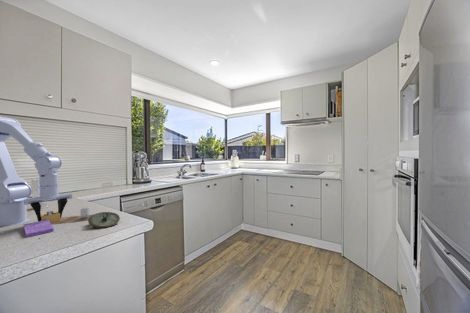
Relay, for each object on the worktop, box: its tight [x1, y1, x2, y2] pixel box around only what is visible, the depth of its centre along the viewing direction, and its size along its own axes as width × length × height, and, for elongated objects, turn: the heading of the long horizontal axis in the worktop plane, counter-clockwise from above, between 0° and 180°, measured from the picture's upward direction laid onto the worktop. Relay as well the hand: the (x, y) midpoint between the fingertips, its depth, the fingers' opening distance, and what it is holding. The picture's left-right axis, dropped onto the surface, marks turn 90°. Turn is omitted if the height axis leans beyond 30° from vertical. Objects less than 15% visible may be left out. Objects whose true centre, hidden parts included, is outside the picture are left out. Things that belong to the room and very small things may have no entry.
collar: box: [41, 211, 60, 223], centre depth 85 cm, size 6×6×3 cm
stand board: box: [45, 207, 95, 226], centre depth 88 cm, size 19×10×5 cm, turn 110°
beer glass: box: [30, 178, 49, 210], centre depth 112 cm, size 7×7×15 cm
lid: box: [87, 211, 121, 229], centre depth 82 cm, size 11×10×5 cm
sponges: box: [23, 219, 55, 238], centre depth 75 cm, size 7×13×2 cm, turn 48°
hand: (49, 219), depth 85 cm, fingers open, 6 cm apart
